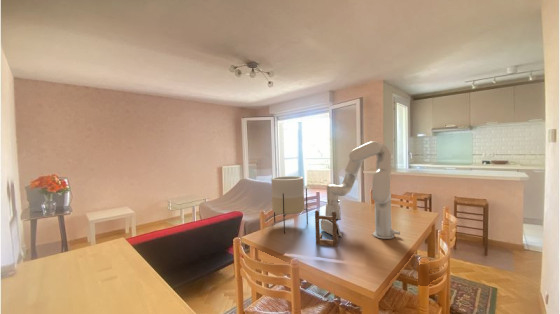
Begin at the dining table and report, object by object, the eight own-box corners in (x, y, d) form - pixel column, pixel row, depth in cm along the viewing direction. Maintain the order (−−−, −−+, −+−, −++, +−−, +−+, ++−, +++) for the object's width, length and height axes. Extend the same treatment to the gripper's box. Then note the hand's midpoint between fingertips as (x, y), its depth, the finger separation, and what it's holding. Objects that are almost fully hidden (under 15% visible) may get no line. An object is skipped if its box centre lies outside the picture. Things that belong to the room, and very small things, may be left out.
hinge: (342, 237, 146) (340, 221, 145) (336, 239, 144) (334, 223, 143) (326, 229, 161) (324, 215, 160) (321, 231, 159) (319, 217, 158)
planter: (293, 235, 152) (292, 180, 151) (261, 229, 166) (259, 179, 165) (310, 224, 174) (308, 176, 174) (280, 219, 188) (278, 175, 188)
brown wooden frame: (339, 239, 141) (338, 207, 141) (337, 246, 131) (336, 212, 131) (319, 237, 146) (318, 206, 145) (315, 244, 135) (314, 210, 135)
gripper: (344, 201, 162) (344, 227, 163) (323, 200, 168) (323, 225, 168) (342, 203, 155) (343, 230, 156) (320, 202, 161) (321, 228, 161)
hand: (333, 227), depth 162 cm, fingers closed
